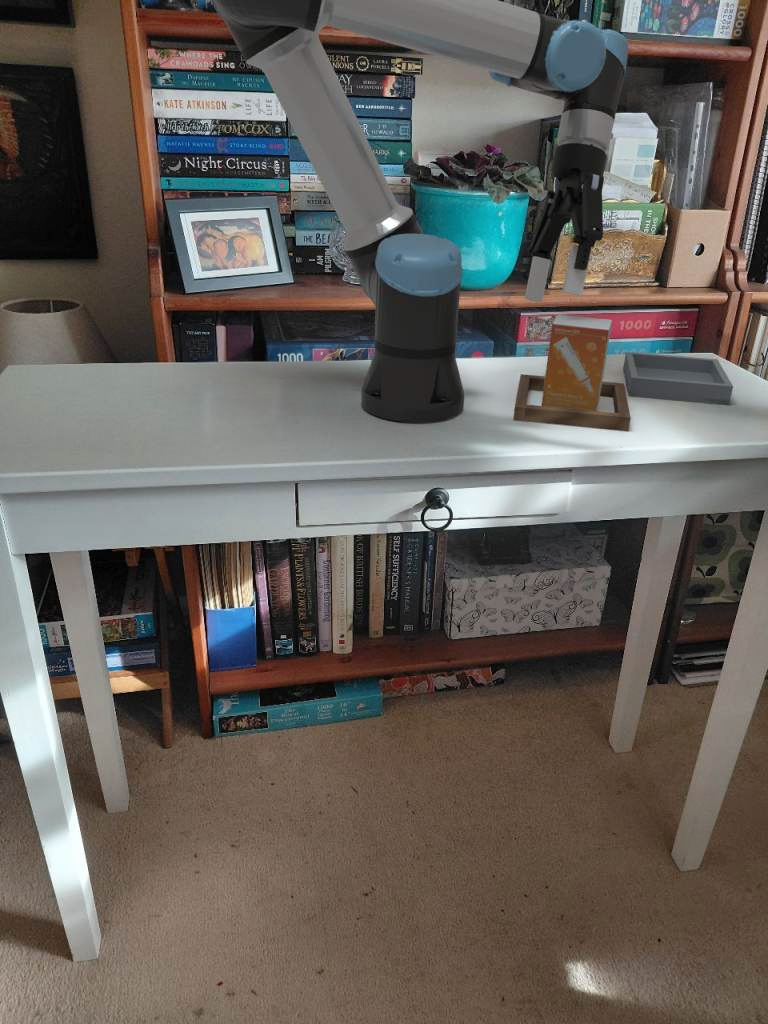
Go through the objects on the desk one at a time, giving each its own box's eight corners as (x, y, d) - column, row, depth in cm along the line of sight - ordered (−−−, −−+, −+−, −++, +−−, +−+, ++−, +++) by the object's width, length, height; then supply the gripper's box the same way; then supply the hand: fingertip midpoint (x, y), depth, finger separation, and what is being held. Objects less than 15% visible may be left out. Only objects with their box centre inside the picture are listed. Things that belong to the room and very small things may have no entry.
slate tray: (628, 396, 129) (631, 377, 127) (623, 368, 142) (625, 351, 141) (728, 405, 126) (733, 386, 125) (713, 376, 139) (717, 359, 138)
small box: (540, 410, 122) (551, 323, 116) (545, 397, 127) (556, 313, 121) (596, 417, 119) (610, 329, 114) (599, 404, 125) (612, 318, 119)
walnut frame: (513, 420, 117) (514, 406, 117) (519, 386, 132) (520, 374, 131) (628, 431, 115) (630, 417, 114) (621, 395, 129) (623, 383, 128)
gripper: (650, 133, 108) (615, 296, 111) (567, 174, 132) (540, 307, 135) (599, 118, 107) (565, 284, 109) (524, 163, 130) (498, 298, 133)
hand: (551, 297), depth 122 cm, fingers open, 13 cm apart
